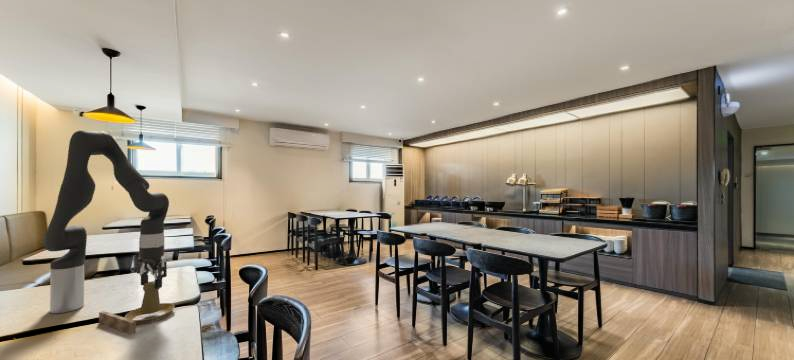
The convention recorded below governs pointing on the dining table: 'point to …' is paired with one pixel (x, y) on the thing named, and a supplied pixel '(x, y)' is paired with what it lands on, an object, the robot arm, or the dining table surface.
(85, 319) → the dining table surface
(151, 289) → the tan tall tapered piece
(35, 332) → the dining table surface
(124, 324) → the walnut divider wall
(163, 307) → the plant saucer
